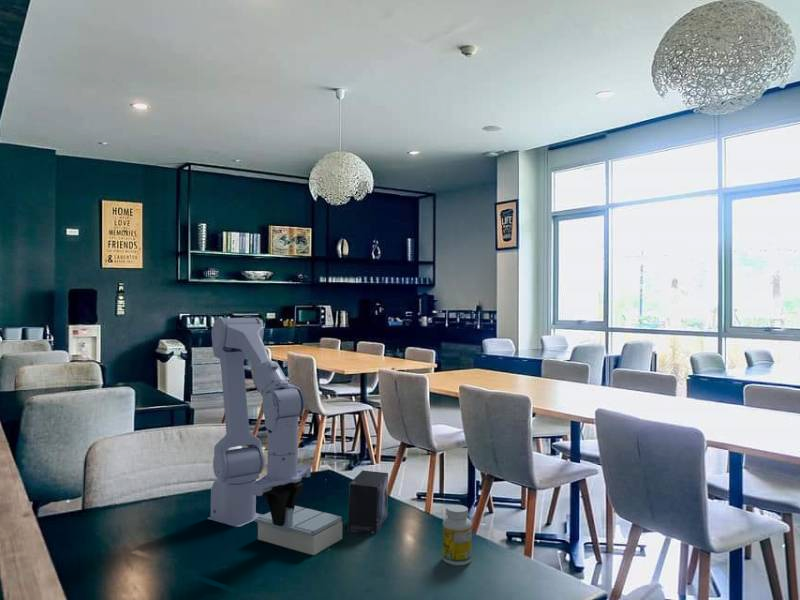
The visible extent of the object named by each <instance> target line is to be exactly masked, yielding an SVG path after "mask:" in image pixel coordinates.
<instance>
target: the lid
mask: <svg viewBox="0 0 800 600" xmlns="http://www.w3.org/2000/svg"><path fill="white" fill-rule="evenodd" d="M342 520H343V519H342V516H340V515H336V514H332V513H329V512H323V511H319V510H316V509H312V508H306V507H302V506H298V505H295V507H294V511H293V509H292V508H287V507H286V510H285V522H284V525H283V526H278V525H274V524H273V520H272V516H271V512H270V511H269V512H267V513H264V514H262V516H261V515H260V517H257V518H255V520H254V523H256V524H258V523H261V524H265V525H268V526H272V528H274V529H277V530H281V531H285V532H289V531H291V532H295V533H298V534H302V535H306V536H309V537H310V536H312V535H314V534H316V533H318V532H320V531H322V530H324V529H326V528H328V527H329V526H331V525H333V524H335V523H337V522H339V521H342Z"/></svg>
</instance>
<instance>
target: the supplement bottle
mask: <svg viewBox="0 0 800 600" xmlns="http://www.w3.org/2000/svg"><path fill="white" fill-rule="evenodd" d="M445 514H446V517H445V518H444V519H443V521H442V559H443V561H444V562H445V563H447V564H449V565H452V566H458V567H459V566H460V565H461V566H466V565H468V564H470V562H471V561H472V547H473V546H472V544H473V543H472V542H473V541H472V538H473V537H472V535H473V534H472V521H471V519H469V518H468V516H469V508H468V507H467V506H465V505H462V504H449V505H447V507H446V513H445Z"/></svg>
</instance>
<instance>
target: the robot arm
mask: <svg viewBox="0 0 800 600" xmlns="http://www.w3.org/2000/svg"><path fill="white" fill-rule="evenodd" d="M264 332H265V330H264V325H263V322H262V320H261V319H260V318H259V317H258V316H257V317H256V316H254V317H225V318H224V317H217V318H216V319H215V320H214V321H213V325H212V328H211V342H212V344H211V345H212V346H211V347H212V351H213V356H214V357H215V358H216V359H219V362H220V371H221V373H220V374H221V384H222V395H223V409H224V421H225V423H224V424H225V435H224V436H223V437H222V438H221V439H220V440H219V441H218V442H217V443H216V444H215V446H214V448H213V452H214V453H213V460H212V464H213V465H212V469H213V474H214V476H215V477H216V479H215V480H214V481H213V483H212V485H211V489H210V516H209V517H207V520H212V521H215V522H219V523H222V524H226V525H229V526H232V527H235V528H237V527H240V528H241V527H242V526H244V525H246V524H249V523H251V522H255V518H257V517H260V516H262V515H263V514H262V513H257V511H256V510H257V508H256V506H257V499H256V498H257V497H260V496H263V497H264V499H265V501H266V503H267V506H268V508H269V512H271V516H272V520H273V524H274V525H278V526H283V525H284V522H285V510H286V507H287V508H292V509H293V511H294V507H295V506H296V504H297V501H298V500H299V499H298V498H299V496H300V495H301V492H302V490H303V489H304V483H303V482H301V481H302V479H303V478H309V477H311V475H312V474H311V473H312V472H311V470H312V469H311V466H310V465H309V466H308V465H300V466H298V464H299V461H298V459H299V418H300V417H301V416H302V415H303V413H304V412H305V411H304V410H305V398H304V395H303V392H302V389H301V388H300V387H298V386H295V385H294V384H291V383H290V382H289V380H288V379H287V377H286V375H285V373H284V371H283V370H282V368H281V366H280V365H279V363H278V362H276V361H275V360H274V361H273V360H271V359H270V357H269V353H268V351H267V349H266V346H265V344H264V341H263V340H264ZM246 359H247V360H248V362H249V363H250V365H251V366H252V368H253V369H254V370H253V372H252V380H253V381H254V383H255V385H256V387H257V390H258V391H259V394H260V395H261V397H262V403H261V408H262V413H263V416H264V425H265V429H266V430H267V447H266V448H267V454H266V455H267V457H265V453H264V450H263V447H262V442H261V439H260V438H259V437H257V436H255V435H254V434H253V433H252V432H250V423H249V413H248V412H249V411H248V401H247V388H246V387H247V386H246V376H245V364H244V362H245V360H246ZM242 446H246V447H242ZM235 447H238V448H235ZM239 447H240V448H239ZM230 448H234V449H230ZM266 458H267V459H266ZM266 463H267V464H266ZM265 465H267V467H266V470H267V471H266V475H264V476H262V477H261V478H260V475H261V474H262V473H263V471H264V468H265ZM257 479H259V480H257Z"/></svg>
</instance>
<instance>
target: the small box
mask: <svg viewBox="0 0 800 600" xmlns="http://www.w3.org/2000/svg"><path fill="white" fill-rule="evenodd" d="M351 480H352V481H350V483H349V484H348V515H347V516H348V517H347V518H348V519H347V520H348V521H347V523H348V524H347V532H348V533H358V534H371V535H377V534H378V532H379V531H380V529H381V528H382V526H383V524H385V522H386V520H387V518H388V499H389V497H388V495H389V489H388V488H389V473H388V472H380V471H373V470H361V471H360V472H359V473H358V474H357V476H355V477H354V478H353V479H351Z"/></svg>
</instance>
